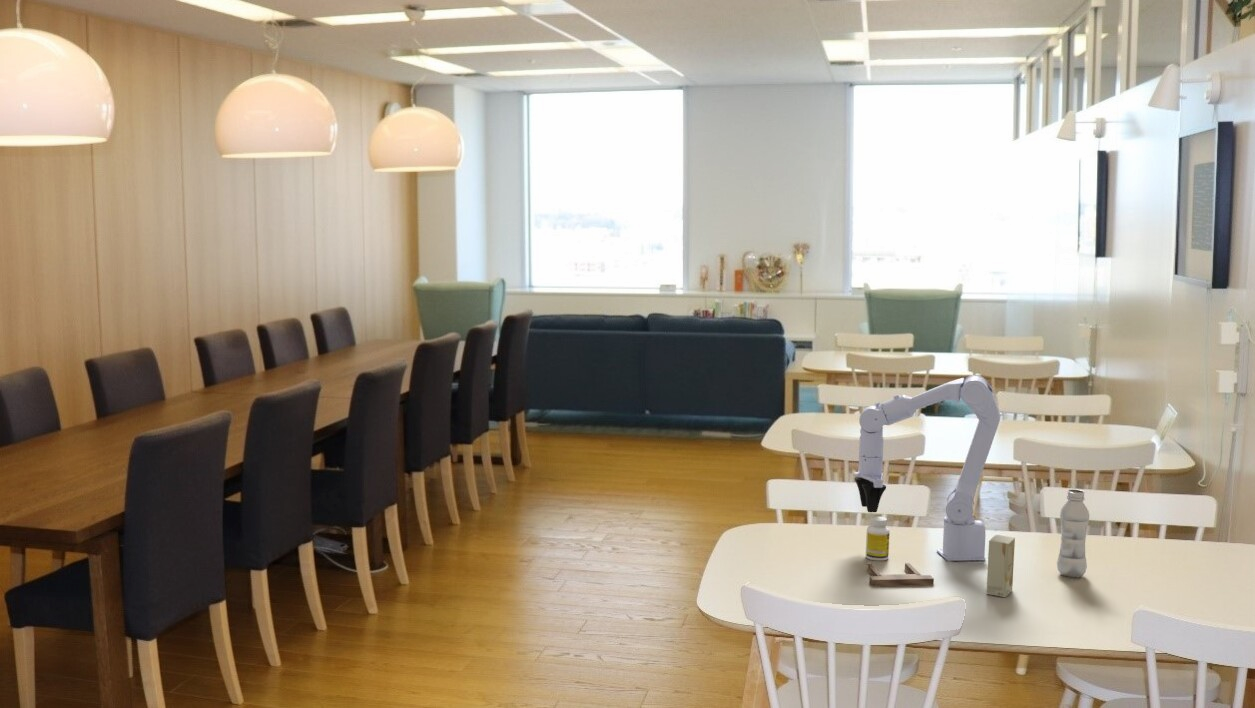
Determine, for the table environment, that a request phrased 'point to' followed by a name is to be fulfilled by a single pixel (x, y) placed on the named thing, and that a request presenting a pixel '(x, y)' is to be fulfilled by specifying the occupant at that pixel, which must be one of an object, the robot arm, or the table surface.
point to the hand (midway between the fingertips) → (869, 509)
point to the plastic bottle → (1073, 535)
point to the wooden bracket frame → (899, 577)
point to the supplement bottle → (877, 539)
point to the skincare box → (1000, 565)
